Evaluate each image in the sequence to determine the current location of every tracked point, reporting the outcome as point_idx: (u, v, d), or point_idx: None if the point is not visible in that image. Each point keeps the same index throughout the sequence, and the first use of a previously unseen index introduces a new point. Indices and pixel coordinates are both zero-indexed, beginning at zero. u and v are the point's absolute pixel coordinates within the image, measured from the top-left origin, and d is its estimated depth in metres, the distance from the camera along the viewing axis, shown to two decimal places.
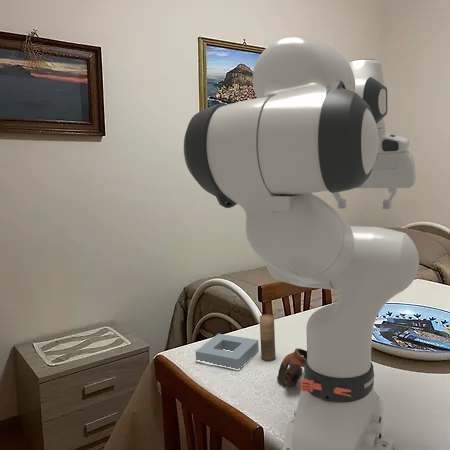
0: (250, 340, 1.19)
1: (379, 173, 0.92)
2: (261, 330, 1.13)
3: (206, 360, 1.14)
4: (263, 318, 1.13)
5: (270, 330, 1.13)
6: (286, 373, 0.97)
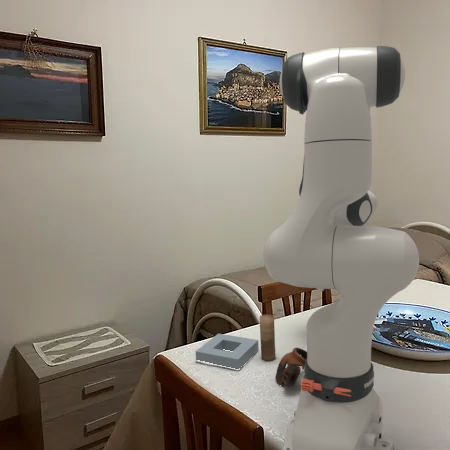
0: (250, 340, 1.19)
1: None
2: (261, 330, 1.13)
3: (206, 360, 1.14)
4: (263, 318, 1.13)
5: (270, 330, 1.13)
6: (284, 372, 0.98)
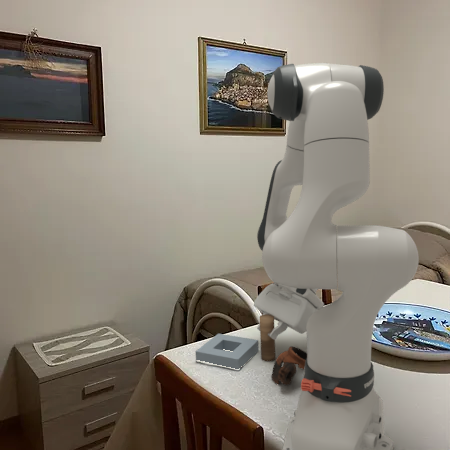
0: (250, 340, 1.19)
1: (286, 309, 1.12)
2: (261, 330, 1.13)
3: (206, 360, 1.14)
4: (263, 318, 1.13)
5: None
6: (280, 371, 0.98)
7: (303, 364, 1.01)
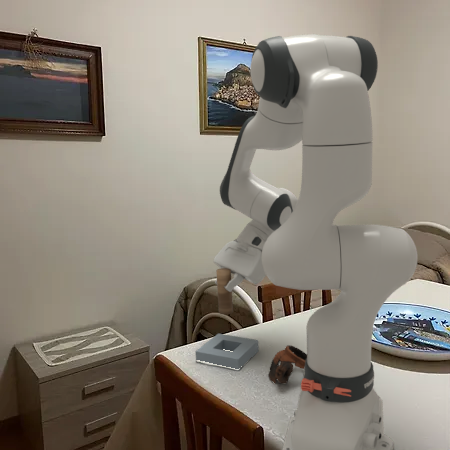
0: (250, 340, 1.19)
1: (242, 261, 1.12)
2: (217, 283, 1.14)
3: (206, 360, 1.14)
4: (219, 271, 1.13)
5: None
6: (277, 369, 0.99)
7: (300, 363, 1.01)
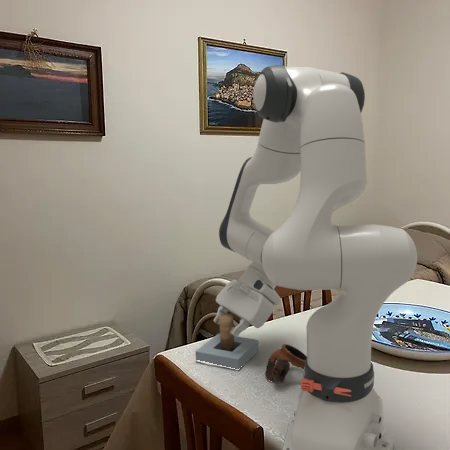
0: (250, 340, 1.19)
1: (244, 304, 1.14)
2: (220, 329, 1.16)
3: (206, 360, 1.14)
4: (222, 317, 1.15)
5: (229, 329, 1.15)
6: (274, 368, 1.00)
7: (296, 361, 1.02)
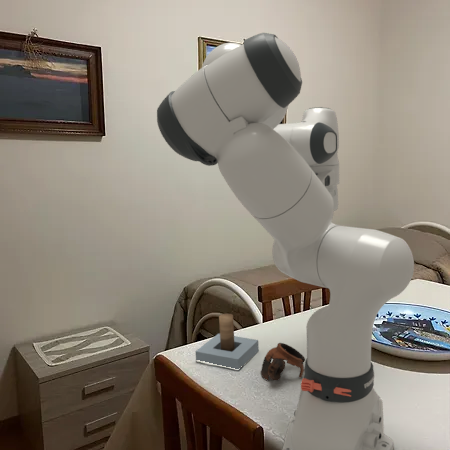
0: (250, 340, 1.19)
1: None
2: (220, 329, 1.16)
3: (206, 360, 1.14)
4: (222, 317, 1.15)
5: (229, 329, 1.15)
6: (270, 367, 1.00)
7: (292, 360, 1.03)
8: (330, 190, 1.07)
